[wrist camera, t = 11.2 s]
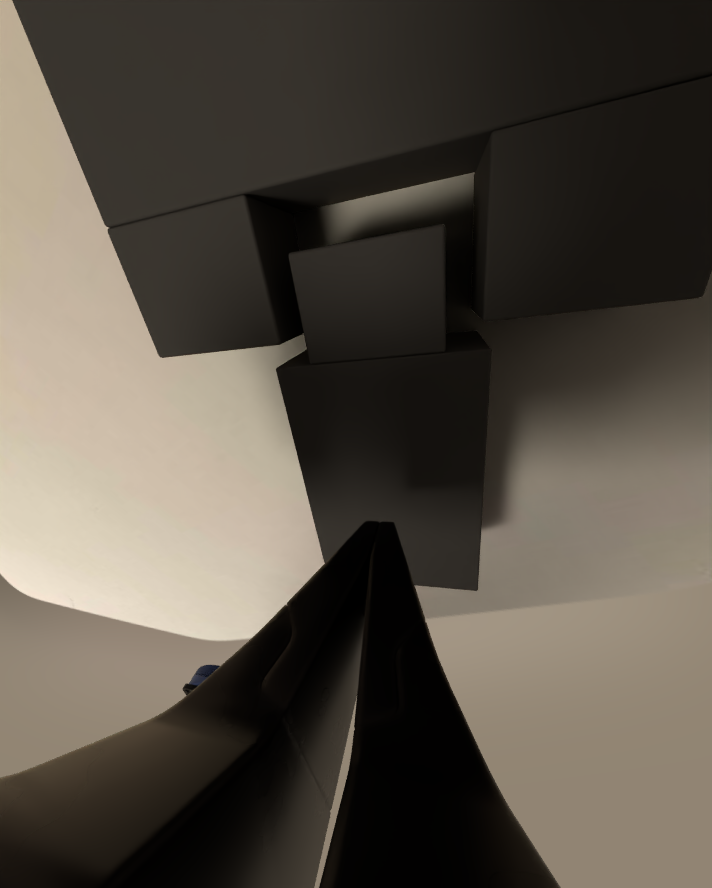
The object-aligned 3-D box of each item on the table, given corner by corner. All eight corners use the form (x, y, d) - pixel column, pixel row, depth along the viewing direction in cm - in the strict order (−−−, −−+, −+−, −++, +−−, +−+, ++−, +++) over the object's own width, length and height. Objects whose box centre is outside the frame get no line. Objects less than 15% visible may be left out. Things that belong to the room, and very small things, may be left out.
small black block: (481, 229, 9) (500, 212, 7) (469, 534, 14) (477, 591, 12) (292, 263, 11) (247, 260, 8) (344, 528, 16) (327, 577, 13)
